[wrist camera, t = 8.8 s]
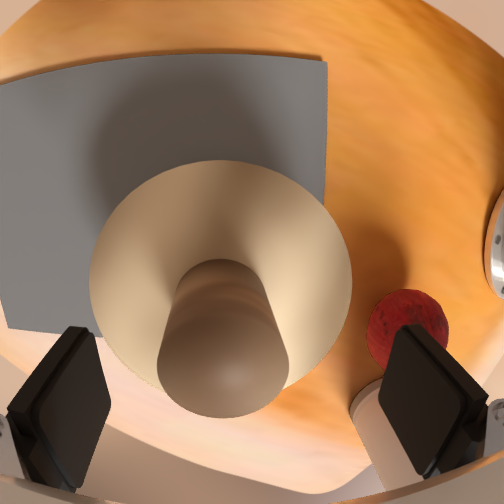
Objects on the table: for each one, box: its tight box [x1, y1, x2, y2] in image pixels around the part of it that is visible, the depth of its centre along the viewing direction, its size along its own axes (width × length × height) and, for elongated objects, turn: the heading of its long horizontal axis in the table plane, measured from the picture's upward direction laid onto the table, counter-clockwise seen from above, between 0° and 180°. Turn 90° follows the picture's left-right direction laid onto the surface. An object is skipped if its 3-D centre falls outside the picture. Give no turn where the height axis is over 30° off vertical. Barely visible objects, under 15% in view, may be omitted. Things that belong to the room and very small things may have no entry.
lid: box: [89, 160, 352, 418], centre depth 12 cm, size 12×12×6 cm
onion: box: [366, 289, 449, 370], centre depth 20 cm, size 6×6×8 cm
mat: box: [0, 54, 327, 337], centre depth 19 cm, size 24×19×1 cm
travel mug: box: [350, 378, 424, 491], centre depth 17 cm, size 6×7×20 cm
